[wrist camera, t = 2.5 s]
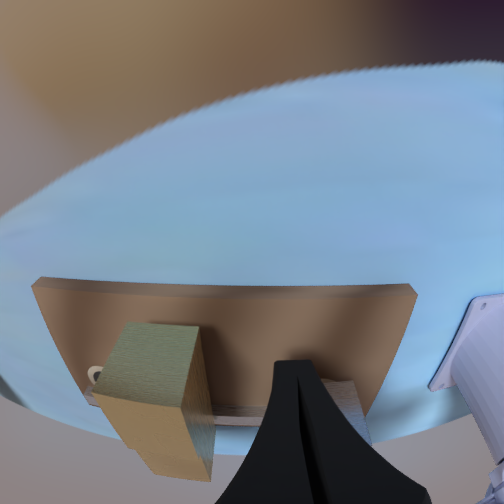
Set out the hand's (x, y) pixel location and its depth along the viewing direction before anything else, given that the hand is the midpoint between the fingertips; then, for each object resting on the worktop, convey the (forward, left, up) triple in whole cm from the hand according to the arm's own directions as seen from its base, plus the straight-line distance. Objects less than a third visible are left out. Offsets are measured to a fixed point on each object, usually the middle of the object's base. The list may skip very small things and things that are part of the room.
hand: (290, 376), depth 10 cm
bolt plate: (+3, +3, -3) cm, 6 cm away
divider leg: (+5, +2, -2) cm, 6 cm away
